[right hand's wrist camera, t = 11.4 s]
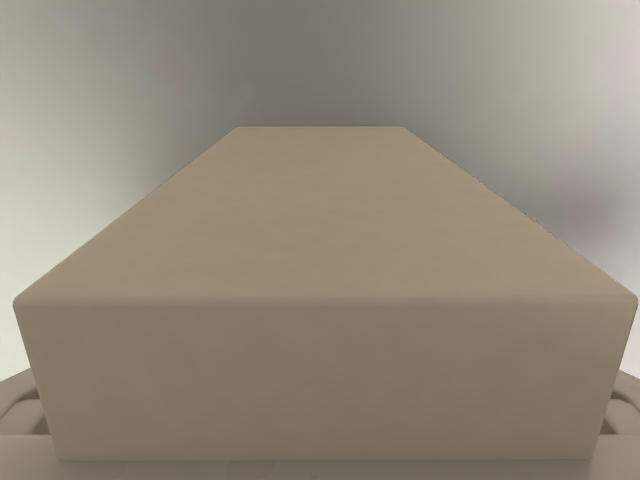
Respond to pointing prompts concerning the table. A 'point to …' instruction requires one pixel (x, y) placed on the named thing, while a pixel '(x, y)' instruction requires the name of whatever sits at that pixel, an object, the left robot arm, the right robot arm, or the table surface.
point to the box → (324, 314)
